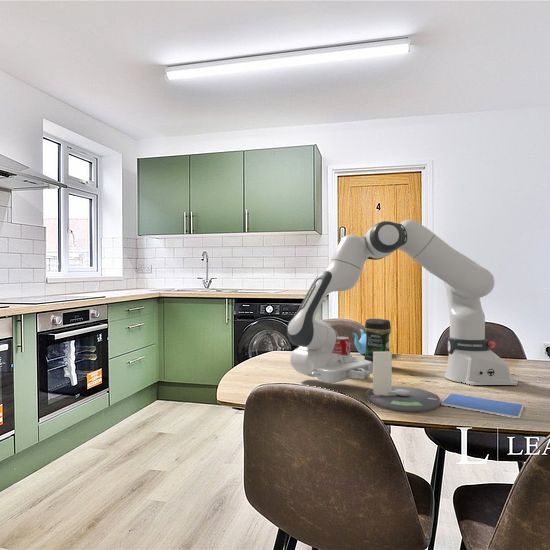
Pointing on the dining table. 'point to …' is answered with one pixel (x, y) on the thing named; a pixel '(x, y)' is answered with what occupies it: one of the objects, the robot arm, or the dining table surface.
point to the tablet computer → (483, 405)
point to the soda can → (342, 345)
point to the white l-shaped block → (384, 375)
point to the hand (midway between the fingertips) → (366, 375)
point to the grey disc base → (406, 400)
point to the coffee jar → (376, 337)
